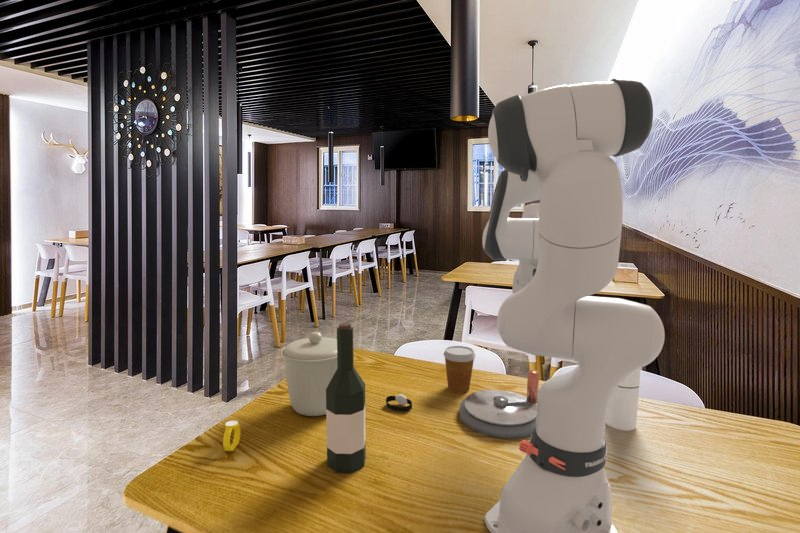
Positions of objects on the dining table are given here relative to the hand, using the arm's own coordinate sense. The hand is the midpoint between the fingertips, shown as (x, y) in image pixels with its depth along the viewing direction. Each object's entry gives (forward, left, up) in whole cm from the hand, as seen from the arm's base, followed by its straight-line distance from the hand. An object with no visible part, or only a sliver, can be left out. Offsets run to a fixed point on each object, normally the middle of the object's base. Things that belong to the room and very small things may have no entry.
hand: (534, 321), depth 109 cm
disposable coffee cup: (-4, +23, -25) cm, 34 cm away
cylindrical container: (+14, -16, -25) cm, 33 cm away
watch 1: (-68, +30, -25) cm, 78 cm away
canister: (-44, +37, -25) cm, 62 cm away
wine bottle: (-50, +10, -25) cm, 57 cm away
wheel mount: (-8, +4, -25) cm, 26 cm away
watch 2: (-26, +24, -26) cm, 43 cm away
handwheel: (-8, +4, -23) cm, 24 cm away
